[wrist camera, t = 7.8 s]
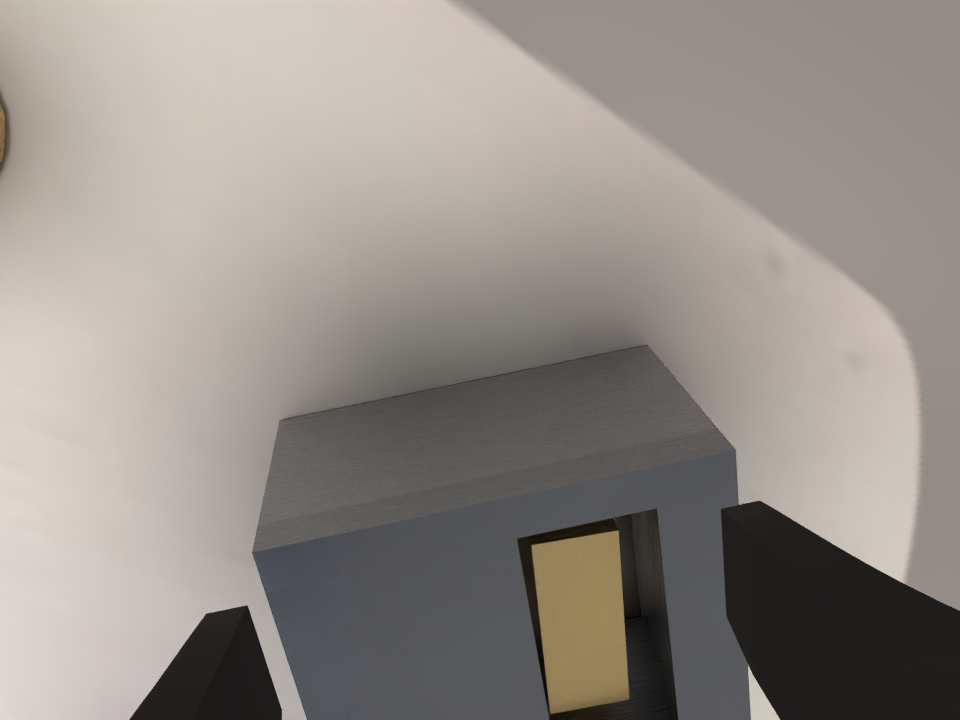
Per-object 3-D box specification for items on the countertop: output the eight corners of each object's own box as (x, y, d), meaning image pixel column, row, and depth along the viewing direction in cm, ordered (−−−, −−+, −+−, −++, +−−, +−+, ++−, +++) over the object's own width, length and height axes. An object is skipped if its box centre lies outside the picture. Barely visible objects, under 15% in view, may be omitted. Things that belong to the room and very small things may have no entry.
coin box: (675, 634, 27) (755, 794, 22) (362, 704, 27) (362, 886, 21) (647, 345, 23) (735, 450, 18) (279, 420, 23) (252, 552, 17)
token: (582, 576, 26) (629, 699, 21) (517, 588, 26) (549, 714, 21) (570, 430, 24) (618, 530, 19) (499, 441, 24) (531, 545, 19)
